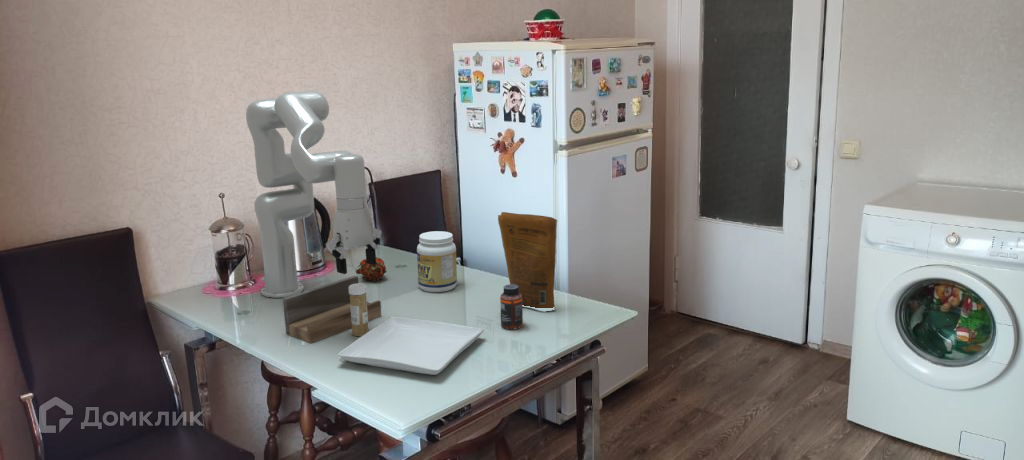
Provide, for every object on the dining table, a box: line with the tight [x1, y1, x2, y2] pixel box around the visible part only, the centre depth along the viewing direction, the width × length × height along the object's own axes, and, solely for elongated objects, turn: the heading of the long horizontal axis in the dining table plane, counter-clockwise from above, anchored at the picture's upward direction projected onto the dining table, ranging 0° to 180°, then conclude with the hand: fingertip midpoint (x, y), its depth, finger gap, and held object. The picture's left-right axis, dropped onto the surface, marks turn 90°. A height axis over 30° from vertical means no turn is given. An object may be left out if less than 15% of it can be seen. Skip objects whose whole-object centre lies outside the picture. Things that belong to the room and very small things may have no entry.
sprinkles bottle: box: [349, 282, 370, 337], centre depth 192 cm, size 5×5×13 cm
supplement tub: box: [416, 230, 458, 293], centre depth 228 cm, size 12×12×17 cm
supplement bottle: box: [499, 283, 524, 330], centre depth 196 cm, size 6×6×11 cm
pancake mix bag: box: [497, 211, 558, 308], centre depth 209 cm, size 7×19×28 cm, turn 51°
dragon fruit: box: [355, 256, 388, 282], centre depth 238 cm, size 8×8×12 cm
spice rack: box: [282, 275, 382, 344], centre depth 199 cm, size 11×24×10 cm, turn 142°
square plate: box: [337, 316, 485, 376], centre depth 181 cm, size 27×27×4 cm
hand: (357, 268), depth 189 cm, fingers open, 9 cm apart
